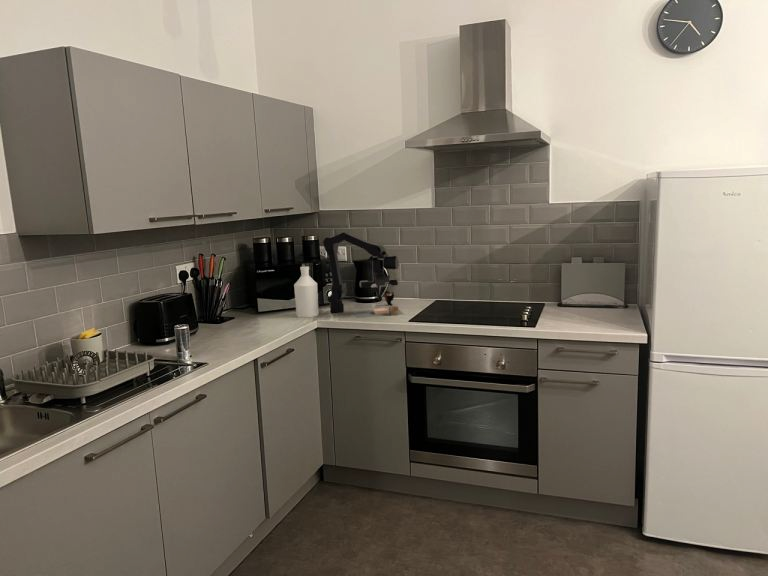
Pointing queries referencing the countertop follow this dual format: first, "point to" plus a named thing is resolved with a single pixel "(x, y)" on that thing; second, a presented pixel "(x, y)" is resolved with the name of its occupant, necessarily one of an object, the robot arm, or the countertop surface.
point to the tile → (380, 311)
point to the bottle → (306, 295)
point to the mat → (370, 314)
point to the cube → (393, 310)
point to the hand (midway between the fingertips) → (379, 299)
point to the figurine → (389, 297)
